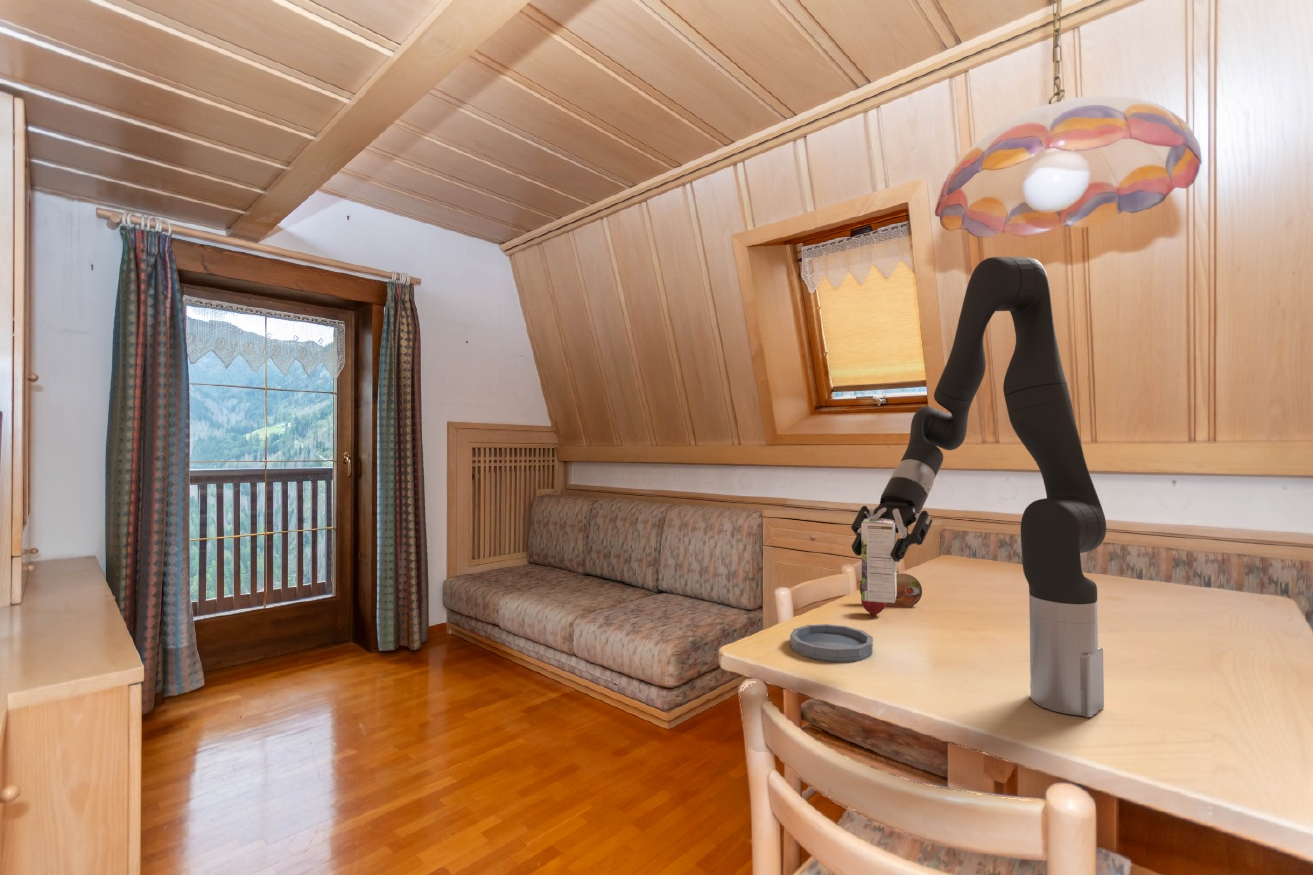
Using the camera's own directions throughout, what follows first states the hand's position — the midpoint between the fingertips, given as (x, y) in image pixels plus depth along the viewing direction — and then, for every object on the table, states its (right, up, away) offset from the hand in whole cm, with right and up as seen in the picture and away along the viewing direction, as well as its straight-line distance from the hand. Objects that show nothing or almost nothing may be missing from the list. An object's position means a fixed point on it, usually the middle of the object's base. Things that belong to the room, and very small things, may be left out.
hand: (874, 555), depth 113 cm
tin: (+20, -22, +46) cm, 55 cm away
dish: (-4, -22, +14) cm, 26 cm away
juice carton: (+1, -8, +1) cm, 8 cm away
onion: (+13, -22, +37) cm, 45 cm away
